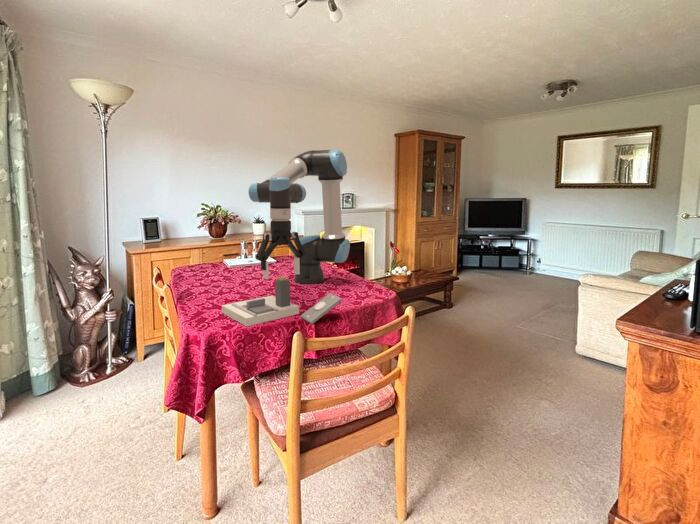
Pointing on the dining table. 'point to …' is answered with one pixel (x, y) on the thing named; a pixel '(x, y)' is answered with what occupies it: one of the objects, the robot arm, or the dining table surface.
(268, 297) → the socket board
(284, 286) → the plug
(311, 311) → the light switch
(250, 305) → the shutter
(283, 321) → the dining table surface
